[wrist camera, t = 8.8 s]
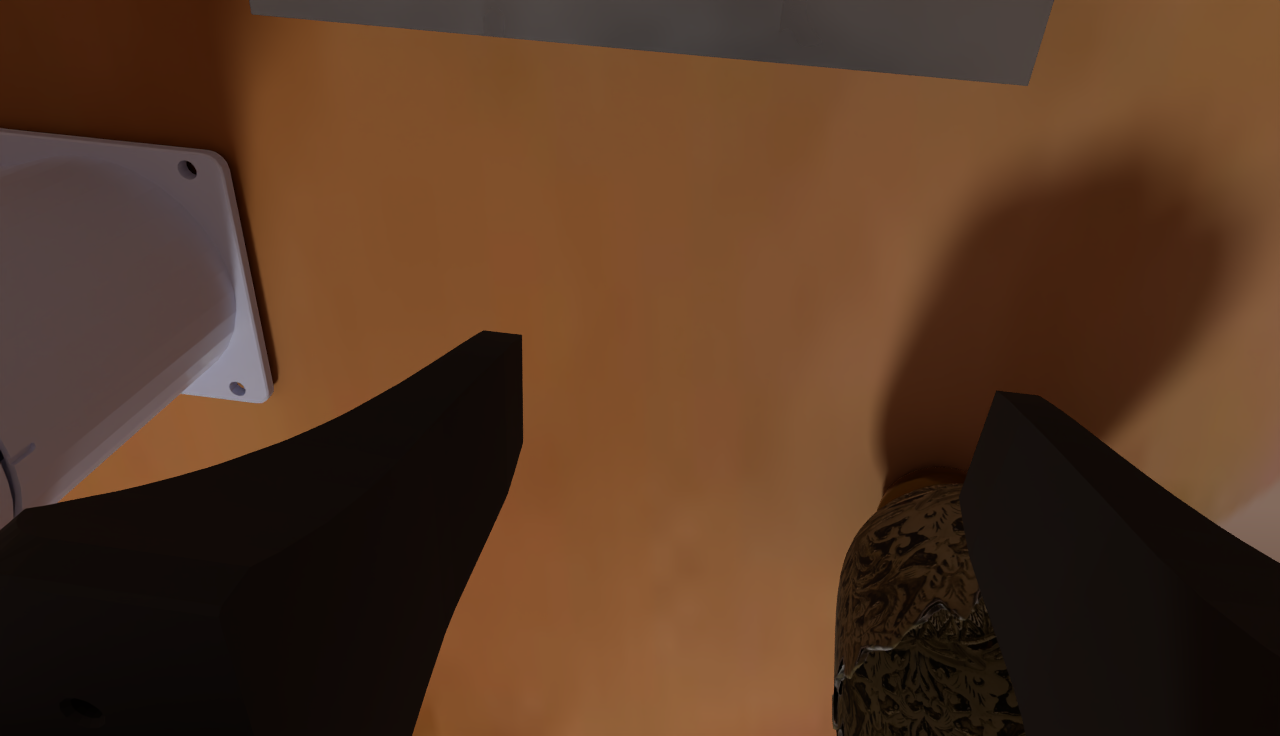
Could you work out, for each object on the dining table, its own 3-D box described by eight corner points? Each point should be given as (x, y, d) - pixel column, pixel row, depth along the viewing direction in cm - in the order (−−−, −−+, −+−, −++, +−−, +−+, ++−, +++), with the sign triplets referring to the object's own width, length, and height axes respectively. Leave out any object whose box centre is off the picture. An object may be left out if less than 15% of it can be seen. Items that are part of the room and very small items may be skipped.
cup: (851, 381, 23) (892, 586, 16) (1105, 430, 23) (1254, 659, 16) (786, 565, 27) (798, 792, 20) (1003, 608, 27) (1089, 852, 20)
